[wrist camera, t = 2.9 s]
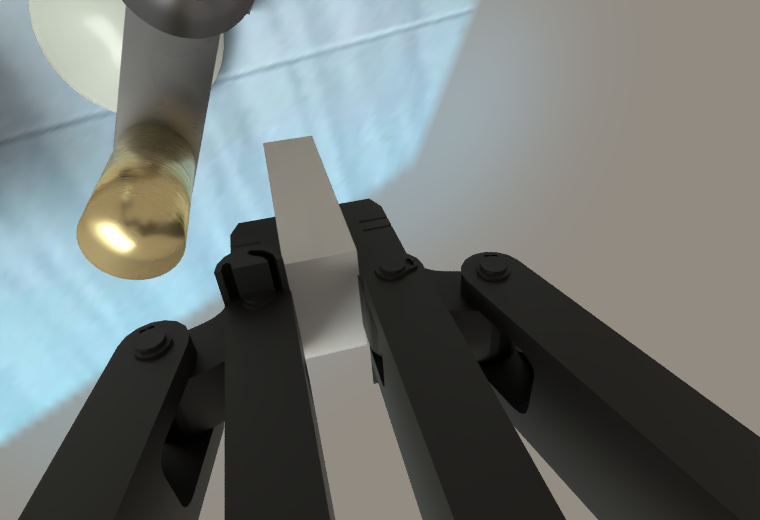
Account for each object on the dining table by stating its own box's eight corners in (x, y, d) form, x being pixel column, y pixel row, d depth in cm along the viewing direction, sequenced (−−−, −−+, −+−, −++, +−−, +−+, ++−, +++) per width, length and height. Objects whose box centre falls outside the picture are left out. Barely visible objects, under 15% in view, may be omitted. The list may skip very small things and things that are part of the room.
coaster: (33, -109, 24) (28, -110, 23) (238, -32, 28) (238, -30, 27) (33, 88, 29) (28, 92, 28) (208, 130, 33) (208, 135, 32)
